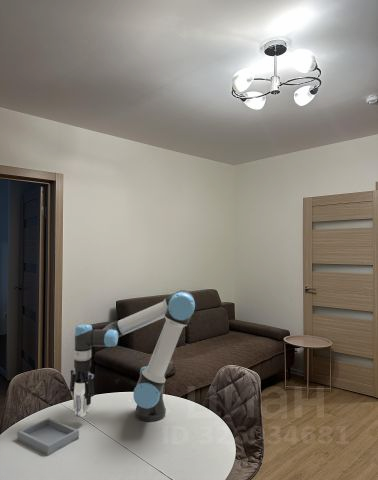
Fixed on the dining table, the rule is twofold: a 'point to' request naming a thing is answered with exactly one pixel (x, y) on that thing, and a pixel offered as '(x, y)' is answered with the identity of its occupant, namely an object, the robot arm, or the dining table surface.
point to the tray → (48, 436)
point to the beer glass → (79, 399)
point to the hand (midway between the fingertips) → (81, 409)
